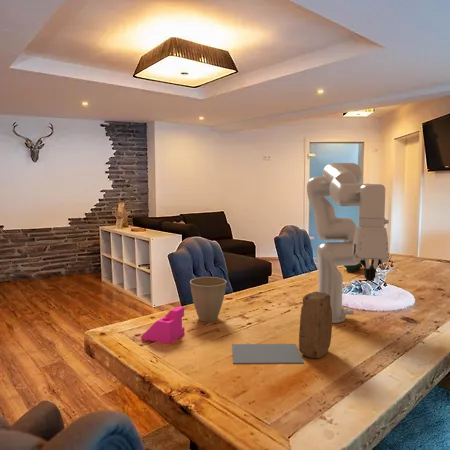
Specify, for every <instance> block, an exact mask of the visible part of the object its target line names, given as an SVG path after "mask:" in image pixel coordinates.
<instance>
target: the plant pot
mask: <svg viewBox="0 0 450 450" xmlns="http://www.w3.org/2000/svg"><path fill="white" fill-rule="evenodd" d="M189 284H190V292H191V296H192V302H193V305H194V306H193V307H194V309H195V311H196V314H197V317H198V319H199V321H201V322H206V323H210V322H215V321H217V319H218V317H219V316H220V312H221V309H222V306H223V303H224V302H223V301H224V298H225V295H226V289H227V280H226V279H224V278H221V277H218V276H217V277H216V276H215V277H214V276H201V277H200V276H199V277H196V278H192V279H191V280H189Z"/></svg>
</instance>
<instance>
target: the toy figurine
mask: <svg viewBox="0 0 450 450" xmlns="http://www.w3.org/2000/svg"><path fill="white" fill-rule="evenodd" d="M343 267H344V268H346V271H345V272H347V273H349V274H350V273H351V274H352V273H353V272H354V270H355V271H361V270H362V268H363V265H362V264H361V263H358V264H357V265H345V266H343Z"/></svg>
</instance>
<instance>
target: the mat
mask: <svg viewBox="0 0 450 450" xmlns="http://www.w3.org/2000/svg"><path fill="white" fill-rule="evenodd" d="M231 347H232V364H233V365H239V364H240V365H241V364H244V365H247V364H251V365H252V364H255V365H257V364H259V365H260V364H261V365H262V364H269V365H270V364H272V365H273V364H274V365H275V364H305V360H303V356H302V355H301V354H302V353H300V351H299V347H298V346H297V344H296V343H232V344H231Z"/></svg>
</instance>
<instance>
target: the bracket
mask: <svg viewBox="0 0 450 450" xmlns="http://www.w3.org/2000/svg"><path fill="white" fill-rule="evenodd" d="M183 317H185V307H184V306H176V307H174V308H172V309H170V311H169V312H168V313H166V315H164V316H163V317H161V318H160V319H158V320H156V321H155V322H154V323H153V325H151V326H150V327H149V328H148V329H147V330H146V331H145V332H144V333H143V335H141V336H140V337H141V338H140V339H141V340H146V341H151V342H157V343H163V344H168V345H171V344H172V343H173V342H175V341H176V340H177V339H179V338H181V337H182V336H183V335H185V326H184V327H183Z"/></svg>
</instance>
